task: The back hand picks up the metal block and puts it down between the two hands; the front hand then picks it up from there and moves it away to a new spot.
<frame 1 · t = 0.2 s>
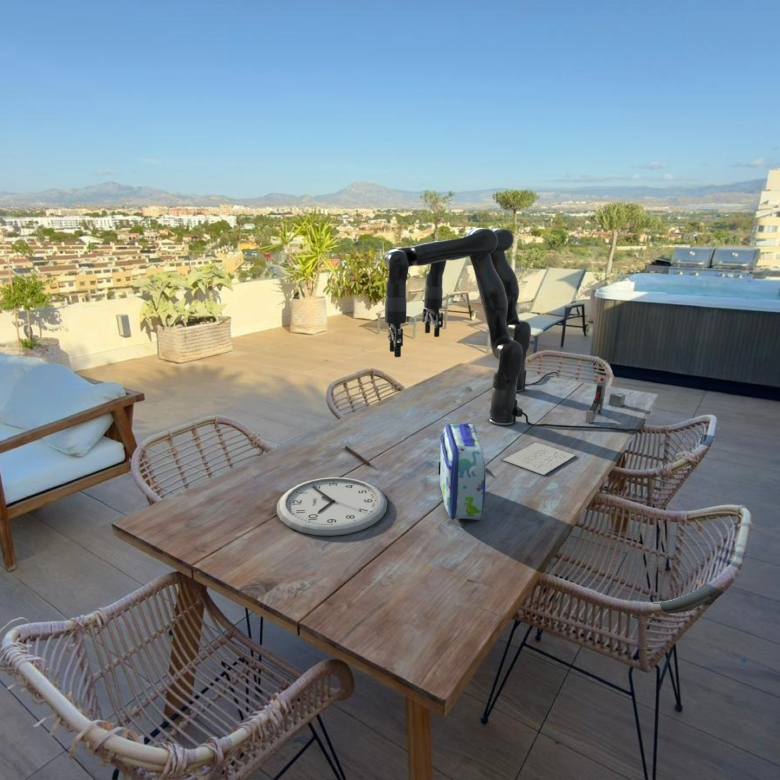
front hand: (395, 354, 187), 29 cm above the table, tool pointing down, fingers open, 8 cm apart
back hand: (431, 334, 223), 29 cm above the table, tool pointing down, fingers open, 8 cm apart
fork: (476, 464, 169), on the table
wall clock: (332, 505, 143), on the table
brown thin stick: (356, 456, 173), on the table
toy gun: (593, 418, 213), on the table
block: (616, 404, 229), on the table
lunch box: (459, 502, 146), on the table
invitation card: (539, 458, 174), on the table
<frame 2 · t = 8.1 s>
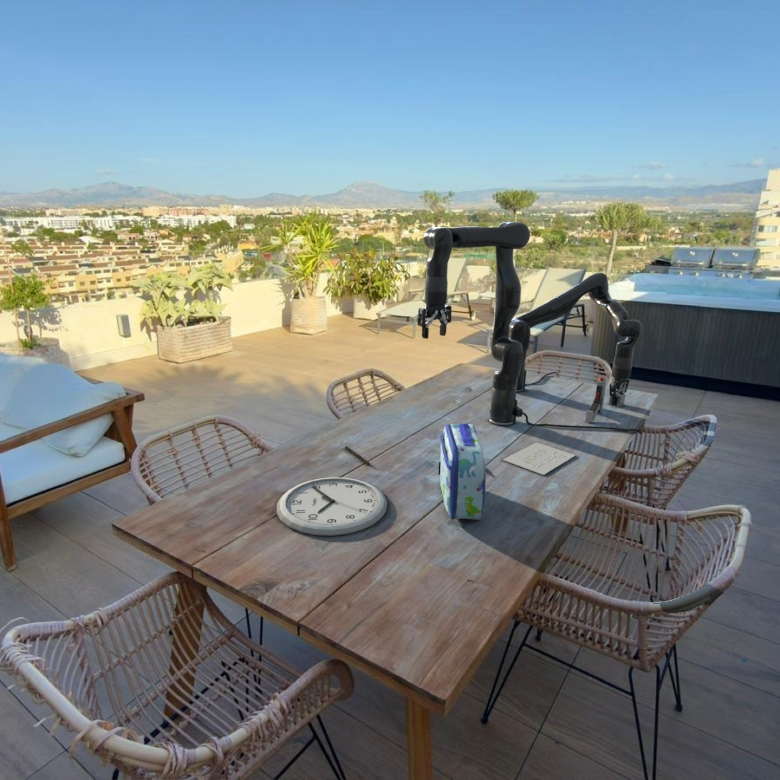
front hand: (434, 336, 180), 37 cm above the table, tool pointing down, fingers open, 8 cm apart
back hand: (616, 403, 229), 1 cm above the table, tool pointing down, fingers closed on block, 4 cm apart
block: (616, 404, 229), on the table, touching back hand
everything else where it was.
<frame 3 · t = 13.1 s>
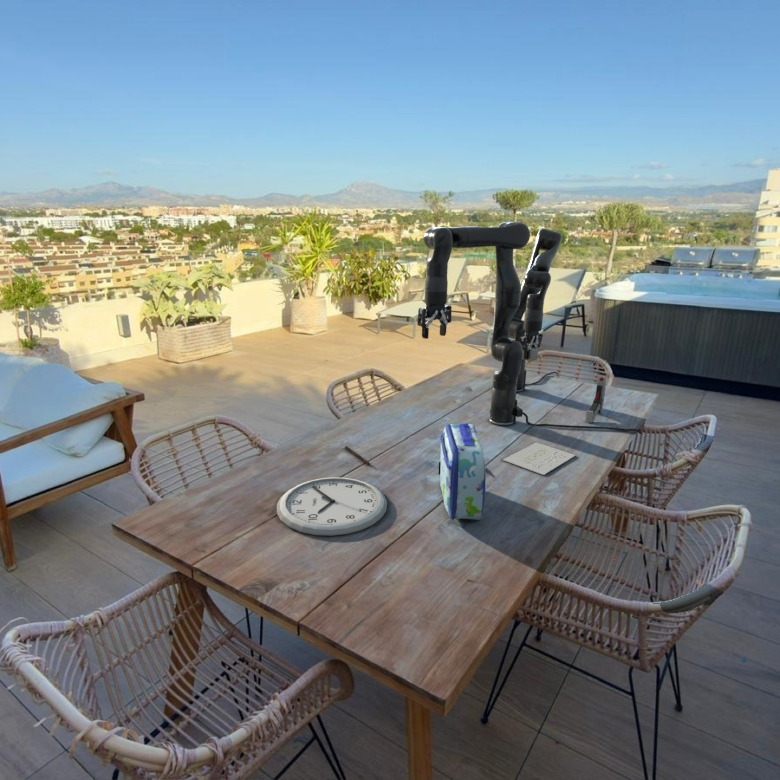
front hand: (434, 336, 180), 37 cm above the table, tool pointing down, fingers open, 8 cm apart
back hand: (529, 358, 226), 20 cm above the table, tool pointing down, fingers closed on block, 4 cm apart
block: (529, 359, 227), point 19 cm above the table, touching back hand
everything else where it was.
when the back hand's fingers open (1 cm above the table, at t = 18.6 s): block drops 1 cm, on the table.
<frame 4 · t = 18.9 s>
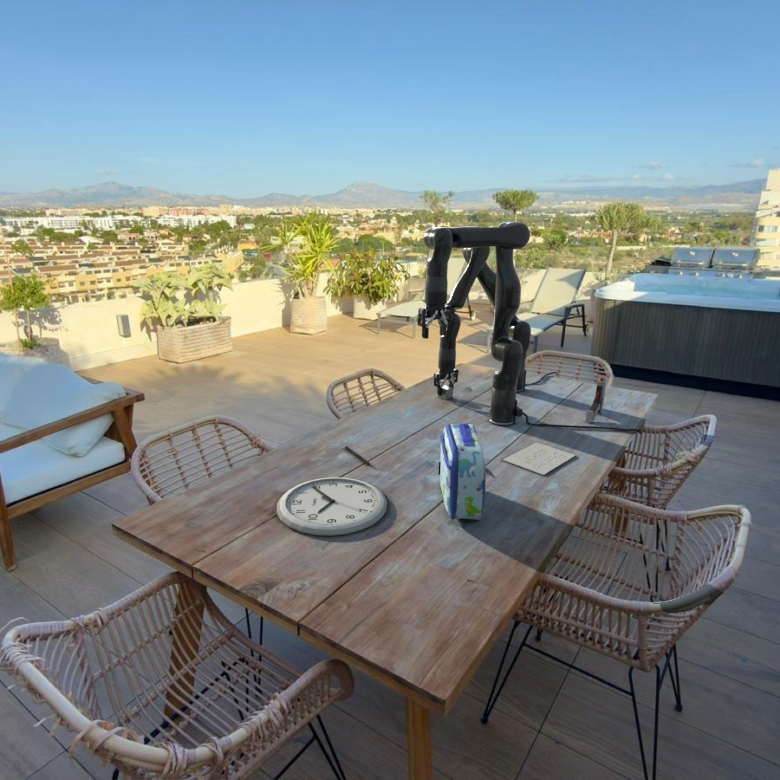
front hand: (434, 336, 180), 37 cm above the table, tool pointing down, fingers open, 8 cm apart
back hand: (445, 393, 234), 2 cm above the table, tool pointing down, fingers open, 6 cm apart
block: (445, 397, 235), on the table
everything else where it was.
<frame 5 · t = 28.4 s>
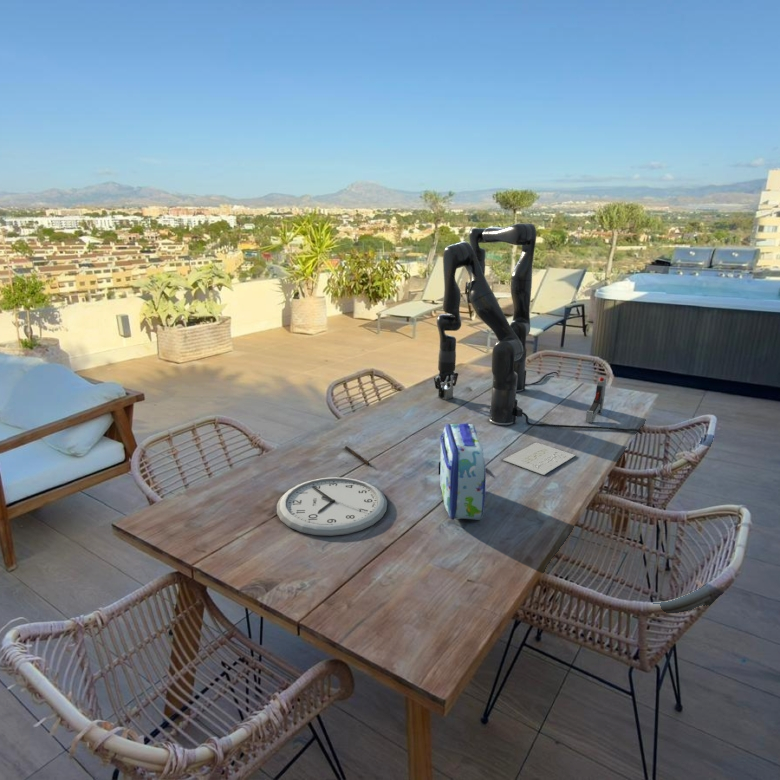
front hand: (445, 396, 235), 1 cm above the table, tool pointing down, fingers closed on block, 4 cm apart
back hand: (475, 302, 266), 37 cm above the table, tool pointing down, fingers open, 8 cm apart
block: (445, 397, 235), on the table, touching front hand
everything else where it was.
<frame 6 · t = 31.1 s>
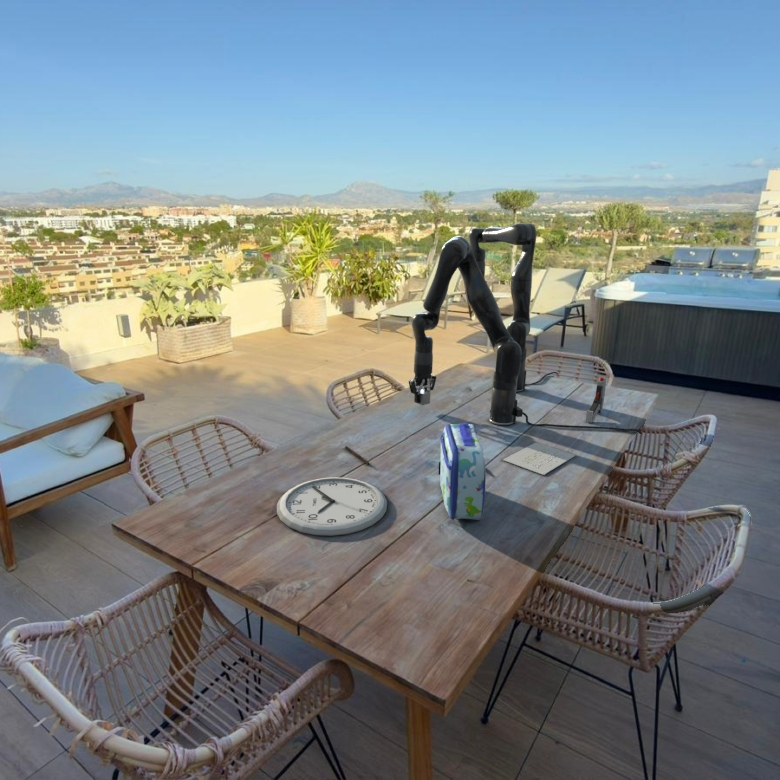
front hand: (421, 401, 218), 4 cm above the table, tool pointing down, fingers closed on block, 4 cm apart
back hand: (475, 302, 266), 37 cm above the table, tool pointing down, fingers open, 8 cm apart
block: (422, 402, 218), point 3 cm above the table, touching front hand
everything else where it was.
when the front hand's fingers open (1 cm above the table, at t = 33.8 s): block stays where it is, on the table.
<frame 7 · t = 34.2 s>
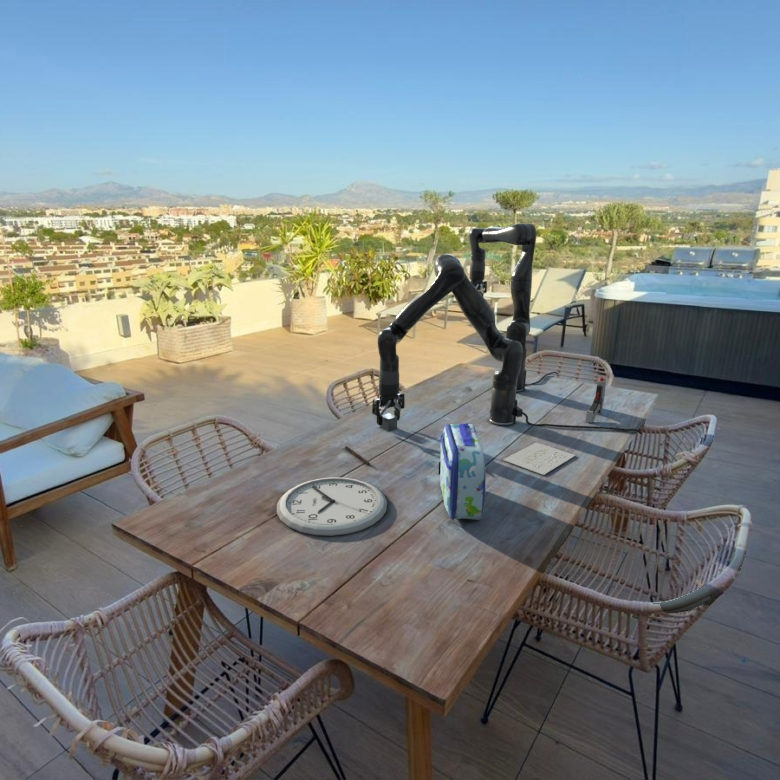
front hand: (388, 422, 198), 2 cm above the table, tool pointing down, fingers open, 8 cm apart
back hand: (475, 302, 266), 37 cm above the table, tool pointing down, fingers open, 8 cm apart
block: (388, 428, 198), on the table
everything else where it was.
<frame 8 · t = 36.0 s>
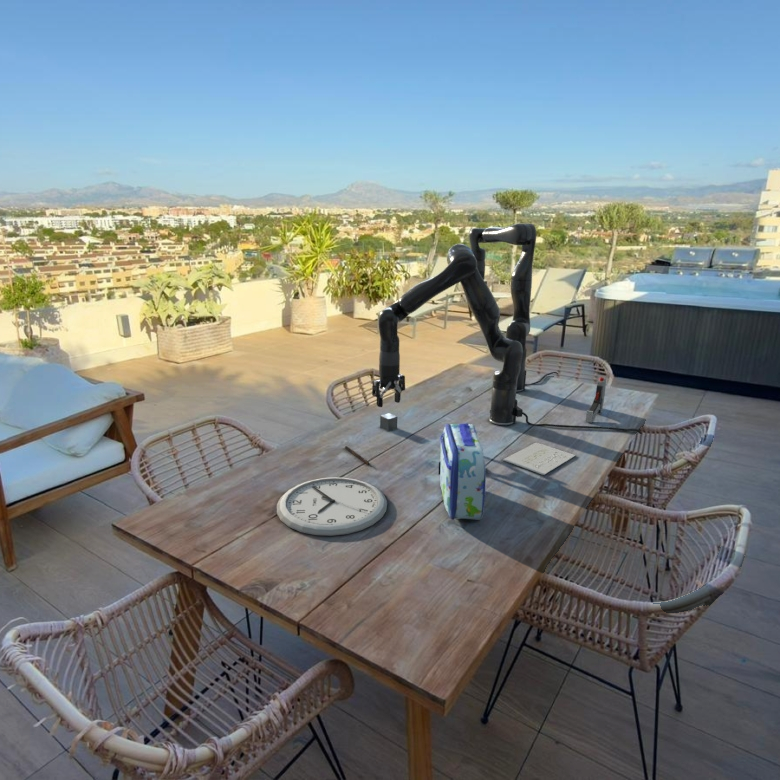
front hand: (388, 404, 195), 9 cm above the table, tool pointing down, fingers open, 8 cm apart
back hand: (475, 302, 266), 37 cm above the table, tool pointing down, fingers open, 8 cm apart
nothing on the table moved.
at the end: block inside the target area (0.1 cm from its centre), on the table; block tilted 0°; the two hands never held the block at the same time; the front hand is holding nothing; the back hand is holding nothing; block at rest at the end (0.0 cm/s) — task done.
